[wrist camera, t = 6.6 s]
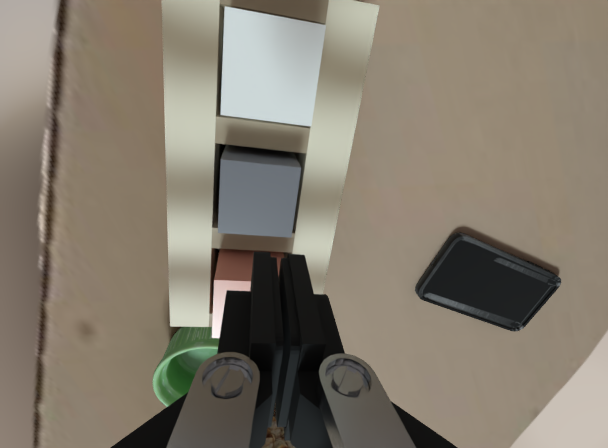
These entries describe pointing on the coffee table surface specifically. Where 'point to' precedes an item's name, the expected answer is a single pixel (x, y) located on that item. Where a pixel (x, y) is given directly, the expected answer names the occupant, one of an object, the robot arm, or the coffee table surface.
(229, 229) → the grey rectangular block
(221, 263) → the brick key
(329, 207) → the wooden compartment tray
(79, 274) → the coffee table surface
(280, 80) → the white key
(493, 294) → the phone
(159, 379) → the ramekin
